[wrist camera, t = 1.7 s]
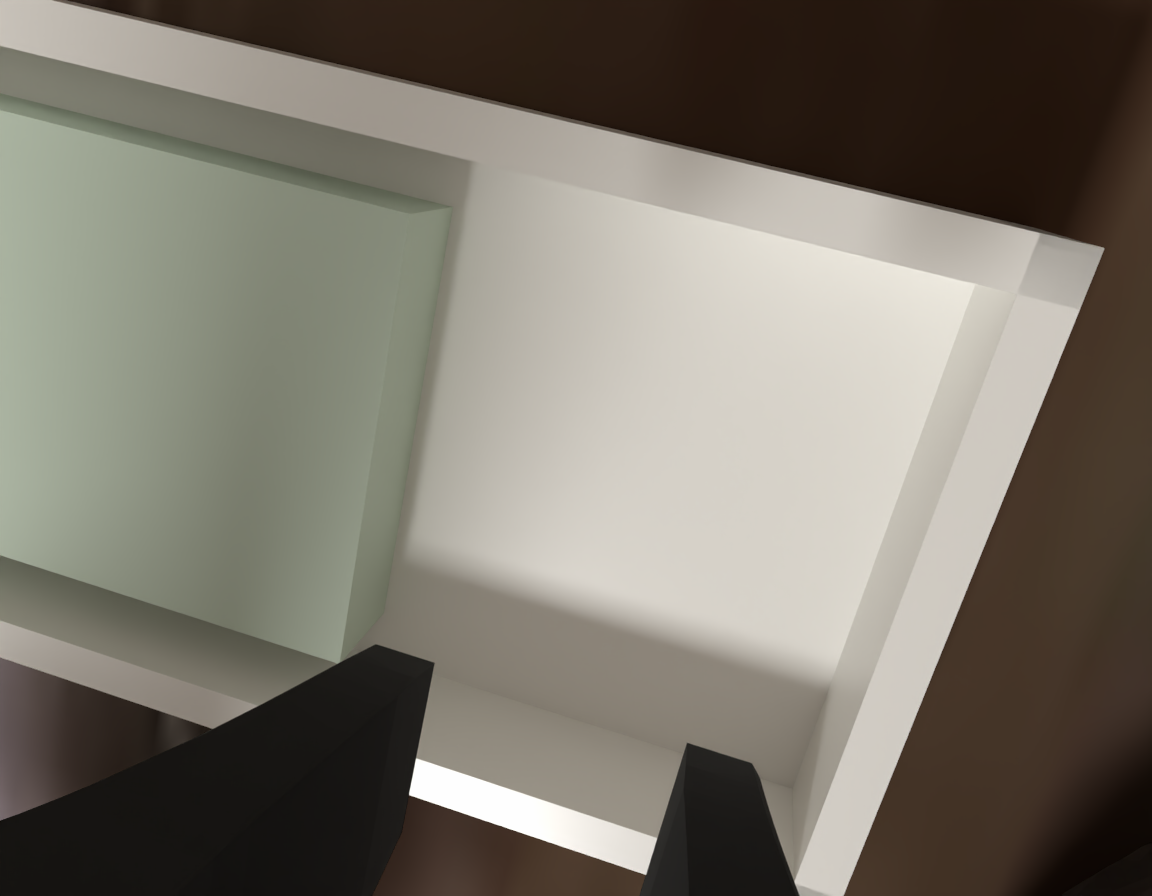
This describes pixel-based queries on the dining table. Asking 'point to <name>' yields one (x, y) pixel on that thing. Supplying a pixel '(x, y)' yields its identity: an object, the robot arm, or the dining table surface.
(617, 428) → the box
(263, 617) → the cover plate
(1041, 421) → the dining table surface
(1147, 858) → the bible
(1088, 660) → the dining table surface
